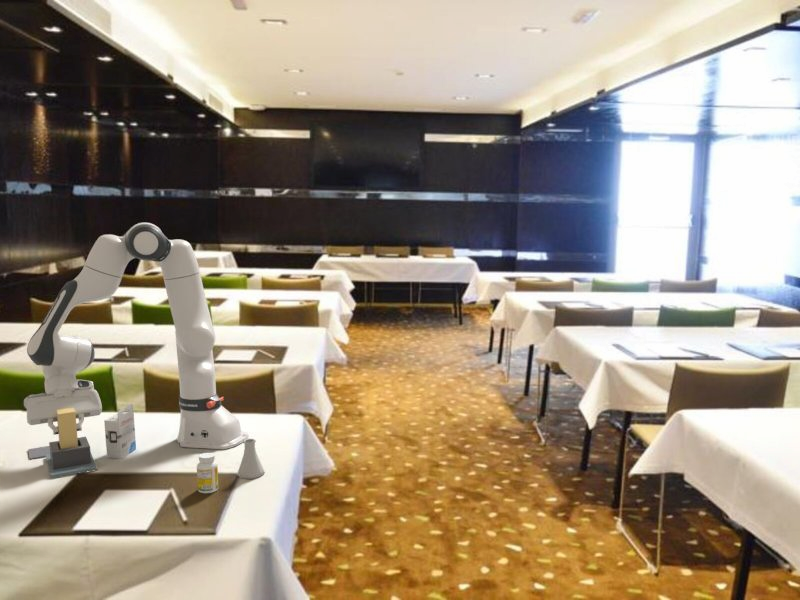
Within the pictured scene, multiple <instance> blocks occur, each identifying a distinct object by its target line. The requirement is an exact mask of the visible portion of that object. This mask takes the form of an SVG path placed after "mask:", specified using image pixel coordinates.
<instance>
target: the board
mask: <svg viewBox="0 0 800 600" xmlns="http://www.w3.org/2000/svg"><path fill="white" fill-rule="evenodd" d="M45 459H46V463H47V466H48V467H47V469H48V471H49V477H50V479H56V478H57V479H58V478H62V477H66V476H73V475H74V476H75V475H77V474H76V473H79V472H85V473H88V472H87V471H91V472H94V471H93V470H96V471H98V466H97V464H96V461H95V459H94V457H93V454H92V453H91V463H89V464H84V465H78V466H72V467H66V468H61V469H55V470H53V466H52V462H51V458H50V454H49V455H46V457H45ZM79 474H80V473H79Z"/></svg>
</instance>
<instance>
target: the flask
mask: <svg viewBox="0 0 800 600" xmlns="http://www.w3.org/2000/svg"><path fill="white" fill-rule="evenodd" d="M256 442H257V440H256V439H255V438H247V439H246V440H244V441H243V442H242V443H243V444H244V450H243V455H242V459H241V463H240V465H239V468H238V471H237V473H236V476H238V477H240V478H241V479H247V480H248V479H249V480H252V479H256V478H259V477H261V476H263V475H264V474H265V473H266V472H265V469H264V468H263V465H262V463H261V460H260V458H259V455H258V454H257V451H256V449H257V448H256Z"/></svg>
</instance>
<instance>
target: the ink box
mask: <svg viewBox="0 0 800 600" xmlns="http://www.w3.org/2000/svg"><path fill="white" fill-rule="evenodd" d="M125 411H126V412H125ZM104 433H105V435H104V436H105V447H106V458H108V459H116V458H117V459H119V460H122V459H123V457H124V458H125V457H126V455H127V456H128V455H129V453H130V454H131V453H133V452H134V451H136V450H137V443H136V441H137V440H136V429H135V413H134V404H133V403H130V404H129V405H126V406H125V407H123V408H121V409H119V410H118V411H117V413H115V414H114V415H112V416H111V417H109V418H106V419H105V420H104ZM117 459H116V460H117Z"/></svg>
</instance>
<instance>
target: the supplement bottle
mask: <svg viewBox="0 0 800 600" xmlns="http://www.w3.org/2000/svg"><path fill="white" fill-rule="evenodd" d="M215 459H216V456H215V453H213V452H203V453H200V454H199V456H198V460H199V462H198V463H197V464H196V477H197V478H196V479H197V480H196V481H197V491H198V492H199V493H200V494H211V493H215V492H217V491H218V489H219V473H218V471H219V468H218V462H216V461H215Z"/></svg>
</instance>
